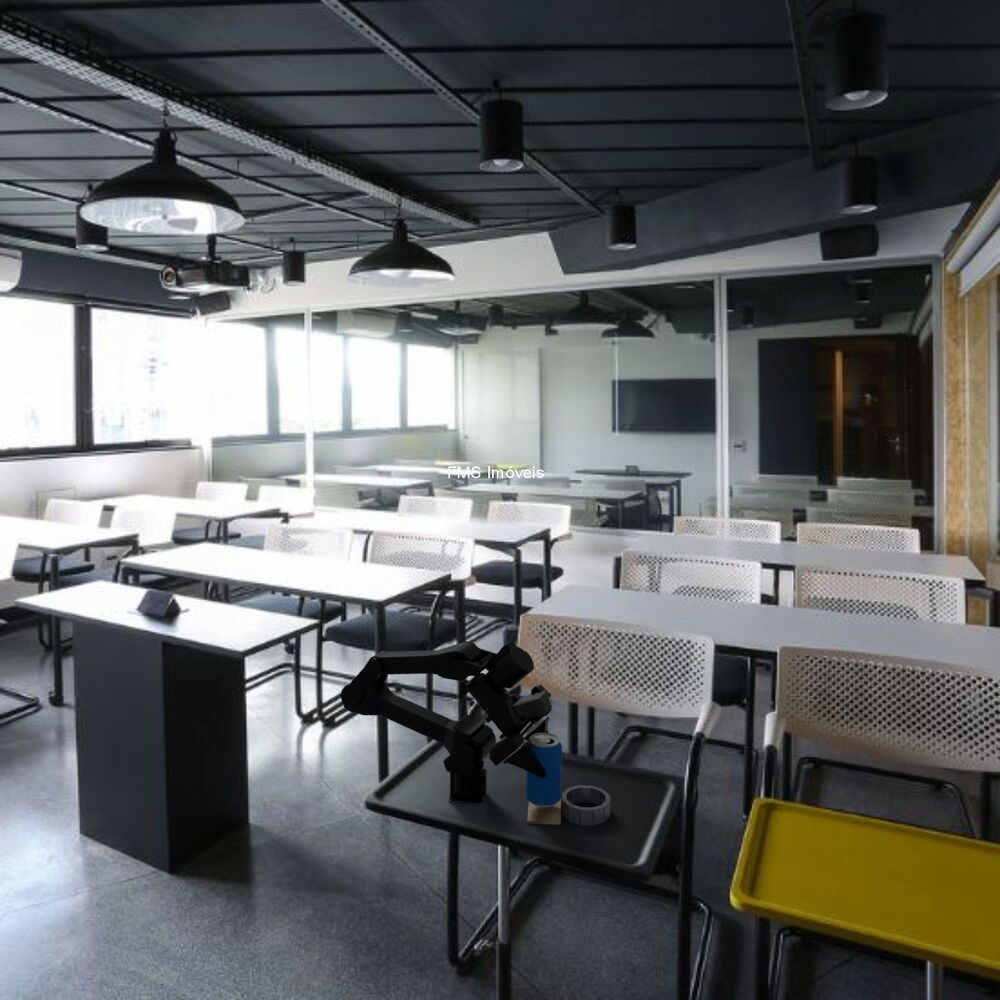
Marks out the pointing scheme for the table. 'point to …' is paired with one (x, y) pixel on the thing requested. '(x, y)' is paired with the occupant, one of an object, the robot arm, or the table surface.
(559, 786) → the beverage can
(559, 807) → the cork pad
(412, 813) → the table surface
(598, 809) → the ring
